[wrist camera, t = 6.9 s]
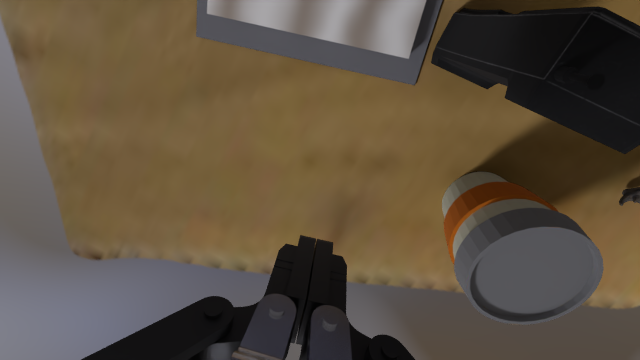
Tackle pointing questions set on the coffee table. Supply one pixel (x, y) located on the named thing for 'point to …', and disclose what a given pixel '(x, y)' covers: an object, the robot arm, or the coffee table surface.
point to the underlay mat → (321, 45)
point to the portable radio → (554, 65)
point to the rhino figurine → (630, 195)
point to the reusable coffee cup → (516, 251)
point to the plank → (334, 20)
